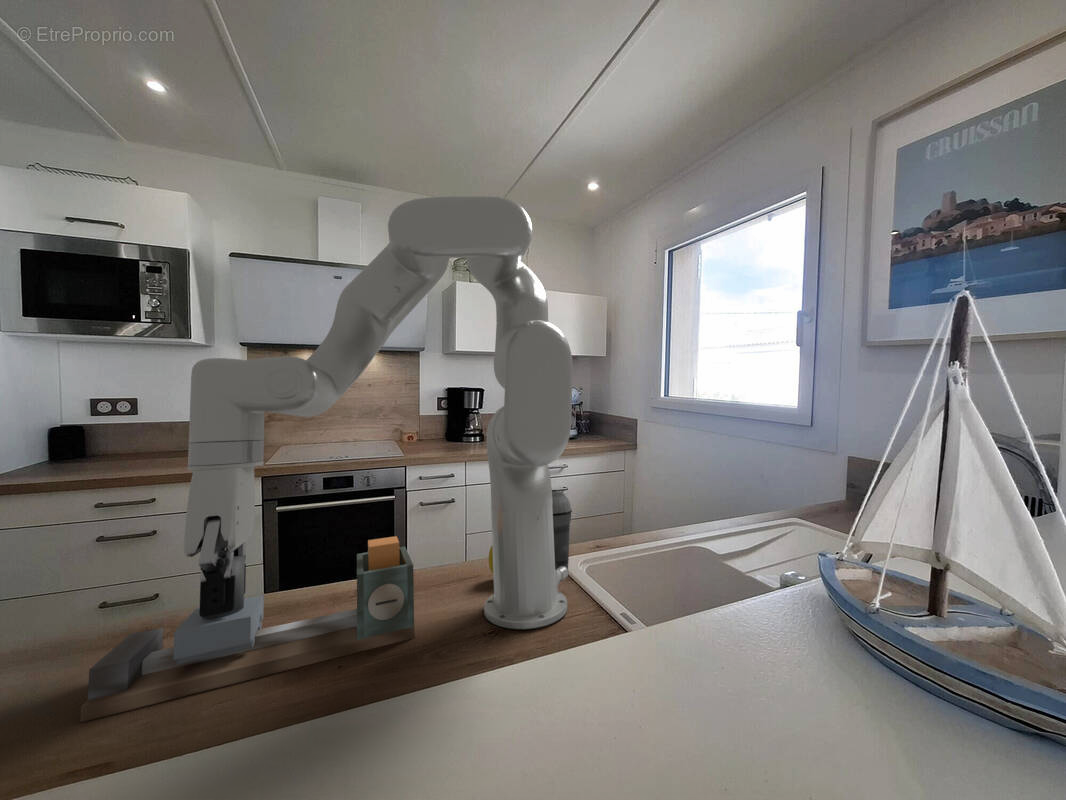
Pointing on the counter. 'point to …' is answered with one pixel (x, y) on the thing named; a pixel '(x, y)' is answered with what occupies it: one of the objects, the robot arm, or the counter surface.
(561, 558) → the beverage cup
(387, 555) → the orange block
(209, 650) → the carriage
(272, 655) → the rail base
